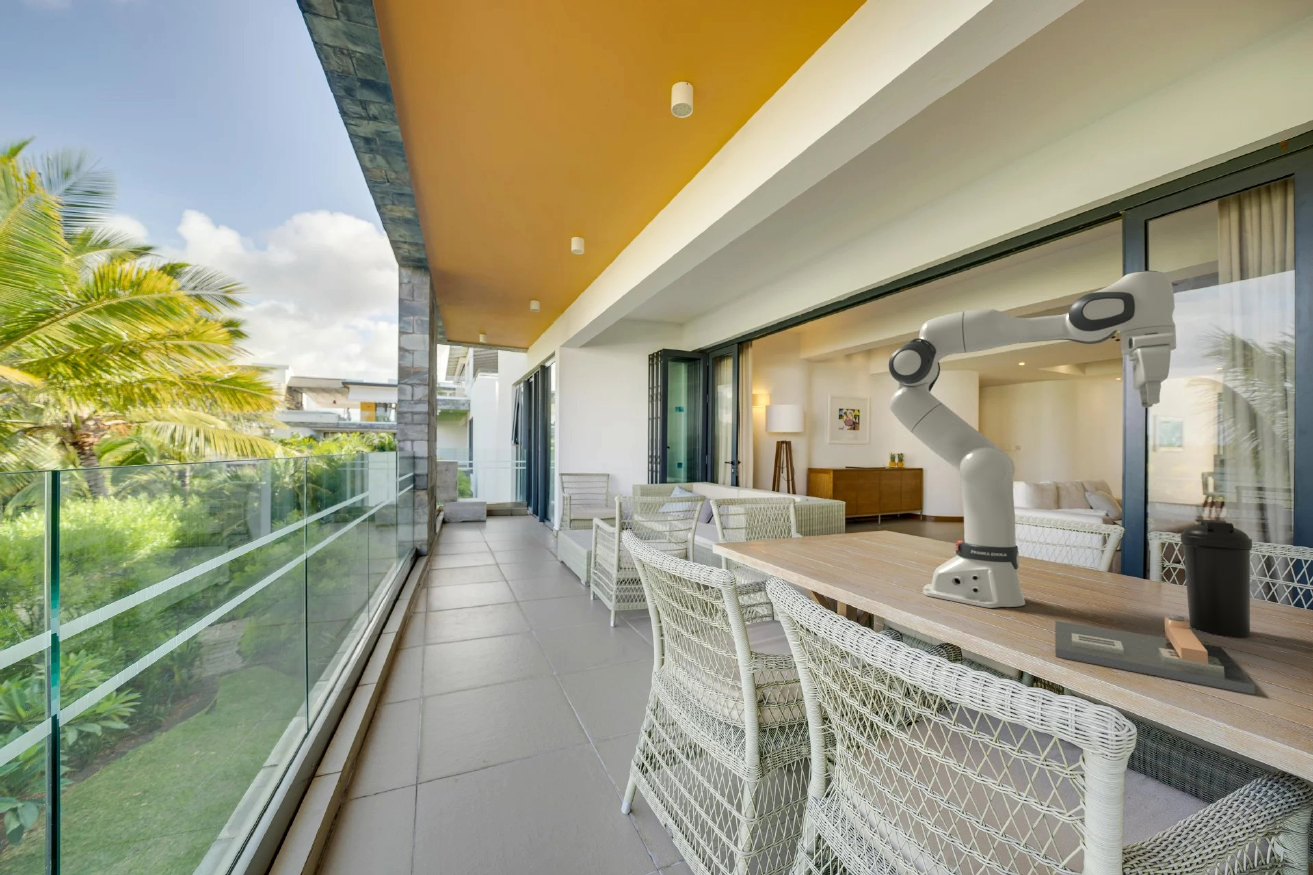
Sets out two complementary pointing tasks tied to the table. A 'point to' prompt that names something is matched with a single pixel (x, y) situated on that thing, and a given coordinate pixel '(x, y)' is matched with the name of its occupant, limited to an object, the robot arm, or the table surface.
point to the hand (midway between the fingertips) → (1150, 405)
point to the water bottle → (1218, 578)
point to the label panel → (1147, 656)
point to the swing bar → (1184, 640)
